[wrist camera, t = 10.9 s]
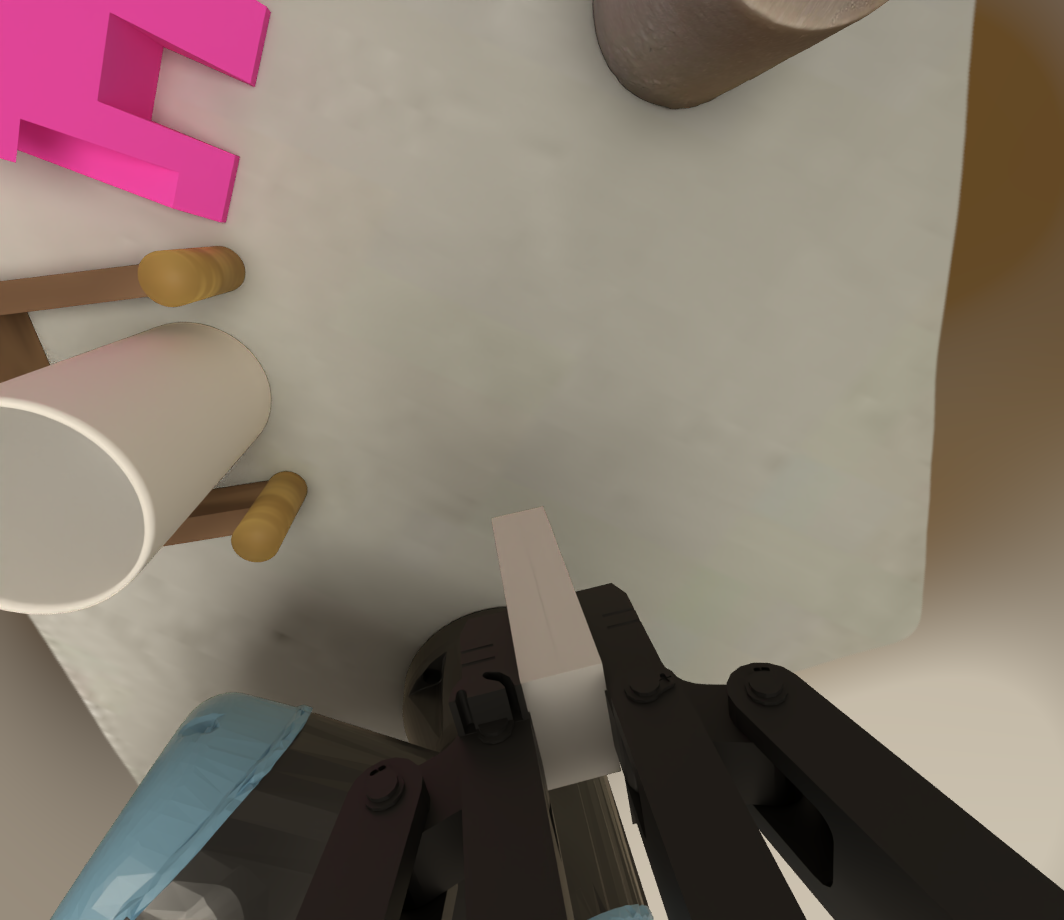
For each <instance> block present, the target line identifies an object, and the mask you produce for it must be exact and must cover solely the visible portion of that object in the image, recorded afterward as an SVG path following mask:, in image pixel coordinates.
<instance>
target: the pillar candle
mask: <svg viewBox="0 0 1064 920" xmlns="http://www.w3.org/2000/svg"><path fill="white" fill-rule="evenodd" d="M887 1H889V0H593V8H594V20H595V28H596V34H597V38H598V42H599V45H600V48H601V50H602V53H603V56H604V58H605V60H606V62H607V64H608V66H609V68H610V69H611V71H612V72H613V73H614V74H615V75H616V76H617V78H618V79H619V81H620V82H621V84H622V85H623V86H624V87H626V88H627V89H628V90H629V91H631V92H632V93H634V94H635V95H636V96H638V97H640V98H641V99H644V100H646V101H648V102H650V103H654V104H657V105H660V106H666V107H669V108H670V109H679V108H690V107H695V106H698V105H700V104H703V103H706V102H709V101H711V100H713V99H714V98H716V97H718V96H720V95H721V94H723V93H725V92H727V91H729V90H731V89H733V88H735V87H737V86H739V85H741V84H742V83H744V82H746V81H747V80H751V79H753V78H755V77H756V76H758V75H760V74H762V73H763V72H765V71H767V70H769V69H771V68H773V67H774V66H776V65H778V64H780V63H781V62H783V61H785V60H787V59H788V58H790V57H792V56H794V55H796V54H798V53H800V52H802V51H804V50H806V49H808V48H810V47H811V46H813V45H815V44H817V43H819V42H820V41H822V40H824V39H826V38H828V37H829V36H831V35H833V34H835V33H837V32H839V31H840V30H842V29H844V28H846V27H847V26H849V25H851V24H853V23H855V22H857V21H859V20H861V19H862V18H864V17H865V16H867V15H869V14H870V13H872V12H873V11H875V10H876V9H877V8H879V7H880V6H882V5H883V4H884V3H886V2H887Z"/></svg>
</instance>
